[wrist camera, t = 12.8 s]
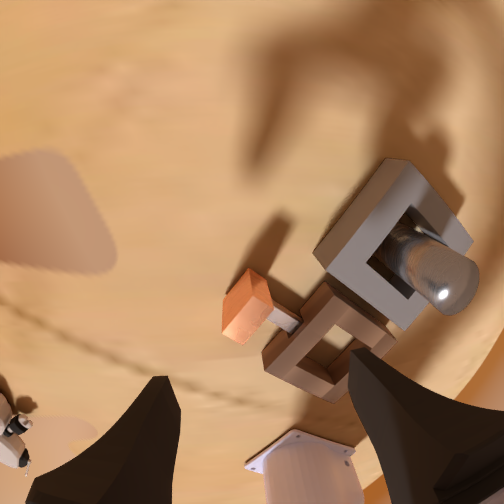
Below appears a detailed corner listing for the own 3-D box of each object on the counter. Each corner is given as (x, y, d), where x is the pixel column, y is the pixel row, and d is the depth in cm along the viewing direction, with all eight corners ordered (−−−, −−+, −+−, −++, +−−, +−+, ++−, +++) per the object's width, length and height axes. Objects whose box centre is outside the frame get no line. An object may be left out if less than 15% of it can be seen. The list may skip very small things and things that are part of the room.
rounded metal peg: (413, 238, 20) (486, 281, 13) (387, 269, 21) (450, 325, 13) (390, 211, 19) (465, 246, 12) (362, 243, 20) (426, 294, 12)
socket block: (385, 326, 22) (397, 341, 20) (327, 386, 24) (333, 403, 22) (324, 280, 21) (334, 295, 19) (261, 352, 22) (264, 370, 20)
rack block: (449, 230, 20) (473, 241, 17) (386, 311, 22) (404, 331, 19) (385, 158, 18) (409, 160, 15) (312, 253, 20) (325, 270, 17)
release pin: (321, 316, 21) (338, 349, 17) (296, 344, 22) (308, 380, 18) (248, 267, 20) (252, 295, 16) (222, 300, 20) (222, 333, 16)
